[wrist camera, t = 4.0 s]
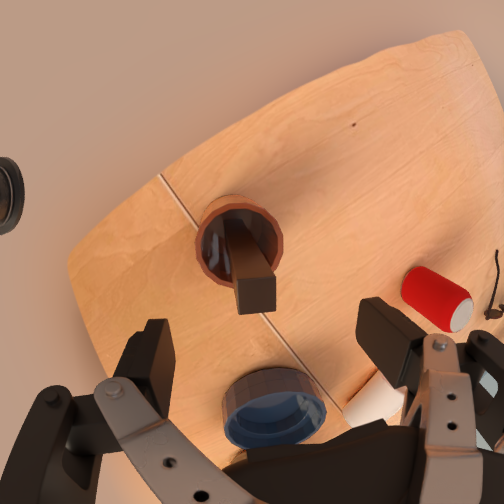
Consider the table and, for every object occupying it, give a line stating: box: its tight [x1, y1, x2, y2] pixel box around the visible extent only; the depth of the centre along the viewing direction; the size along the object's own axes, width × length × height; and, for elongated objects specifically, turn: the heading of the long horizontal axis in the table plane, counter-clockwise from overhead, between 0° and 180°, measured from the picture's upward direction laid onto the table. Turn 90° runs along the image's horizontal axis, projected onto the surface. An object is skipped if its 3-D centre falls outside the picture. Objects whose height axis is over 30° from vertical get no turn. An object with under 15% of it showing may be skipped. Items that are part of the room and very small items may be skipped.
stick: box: [224, 219, 276, 315], centre depth 23 cm, size 2×2×18 cm
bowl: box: [222, 368, 327, 450], centre depth 37 cm, size 15×15×6 cm
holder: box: [195, 195, 283, 289], centre depth 27 cm, size 7×7×9 cm
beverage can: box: [401, 266, 473, 333], centre depth 32 cm, size 6×6×12 cm
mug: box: [342, 370, 407, 428], centre depth 40 cm, size 12×10×8 cm
